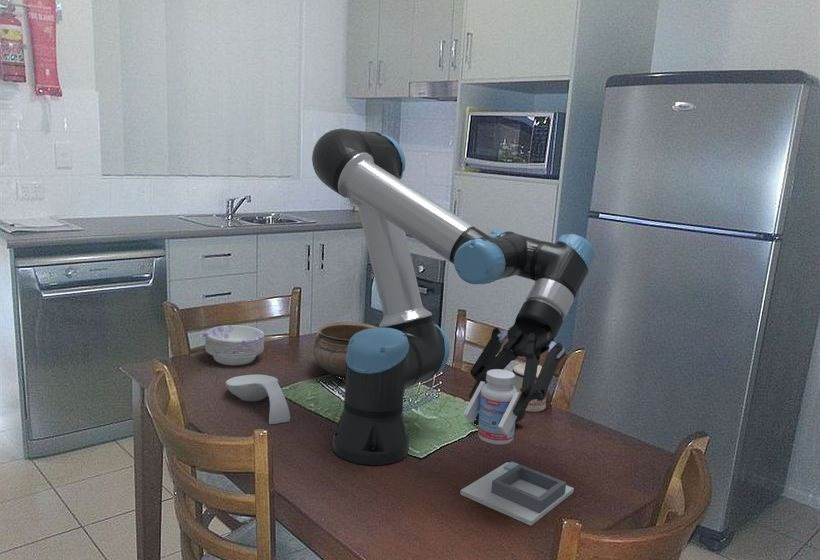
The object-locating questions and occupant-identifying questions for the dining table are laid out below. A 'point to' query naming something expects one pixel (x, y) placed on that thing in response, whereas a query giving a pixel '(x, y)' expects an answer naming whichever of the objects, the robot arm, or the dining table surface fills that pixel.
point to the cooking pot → (335, 345)
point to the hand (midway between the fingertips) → (485, 424)
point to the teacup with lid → (519, 373)
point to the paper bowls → (234, 344)
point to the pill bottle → (495, 406)
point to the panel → (518, 492)
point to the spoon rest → (261, 394)
